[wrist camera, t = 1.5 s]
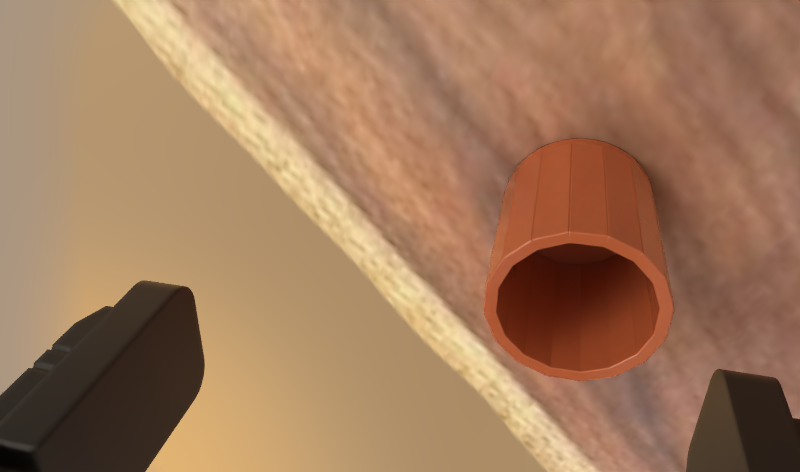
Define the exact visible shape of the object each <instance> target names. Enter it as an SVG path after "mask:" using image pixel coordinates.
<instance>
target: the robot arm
mask: <svg viewBox="0 0 800 472" xmlns="http://www.w3.org/2000/svg"><path fill="white" fill-rule="evenodd" d="M203 376H204V355H203V349H202V343H201V336H200V331H199V324H198V318H197V312H196V305H195V299H194V296H193V293H192V291H191V290H190V289H189V288H188V287H184V286H178V285H171V284H165V283H158V282H151V281H140V282H138V283H137V284H136V285H134V286H133V288H131V290H129V292H128V293H127V294H126V295H125V296H124V297H123V298H122V299H121V300H120V301H119V302H118V303H117V304H116V305H115V306H114V307H109V306H105V307H104V308H102V309H100V310H98V311H96V312H95V313H93V314H91V315H89V316H87V317H85V318H84V319H82V320H80V321H78V322H76V323H75V324H74V325H73V326H72V327H71V328H70V329H69V330H68V331H67V332H66V333H65V334H63V336H61V337H60V338H59V339H58V340H57V341H56V342H55V343H54V344H53V347H52V350H47V351H46V352H45V353H44V354H43V355H42V356H41V357H40V358H39V359H38V360H37V361H36V362H35V363H34V367H33V368H28V369H27V371H25V372H24V373H23V374H22V375H21V376H20V377H19V378H18V379H17V380H16V381H15V382H14V383H13V384H12V385H11V386H10V387H9V388H8V389H7V390H6V391H5V392H4V393H2V394H1V395H0V472H145V471H146V470H147V468H148V467H149V465H150V464H151V462H152V461H153V459H154V458H155V457H156V455H157V454H158V452H159V451H160V449H161V448H162V446H163V445H164V443H165V442H166V441H167V439H168V438H169V436H170V435H171V433H172V432H173V430H174V428H175V427H176V426H177V424H178V423H179V422H180V420H181V419H182V417H183V416H184V414H185V413H186V411H187V410H188V408H189V407H190V405H191V404H192V403H193V401H194V400H195V398H196V396H197V394H198V392H199V390H200V387H201V384H202V380H203ZM686 472H800V419H795V418H792V415H791V412H790V410H789V407H788V404H787V401H786V398H785V396H784V393H783V390H782V387H781V385H780V383H779V381H778V380H777V379H776V378H774V377H768V376H761V375H755V374H748V373H742V372H735V371H728V370H722V369H718V370H716V371H715V372H714V374H713V376H712V378H711V381H710V384H709V387H708V390H707V393H706V396H705V400H704V403H703V406H702V409H701V412H700V415H699V418H698V422H697V425H696V428H695V431H694V434H693V437H692V440H691V444H690V447H689V452H688V458H687V469H686Z"/></svg>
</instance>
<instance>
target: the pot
mask: <svg viewBox="0 0 800 472" xmlns="http://www.w3.org/2000/svg"><path fill="white" fill-rule="evenodd" d="M483 311H484V315H485V318H486V320H487V322H488V325H489V327H490V330H491V332H492V335H493V337H494V339H495V341H496V342H497V343H498V344H499V345H500V346H501V347H502V348H503V349H504V350H505V351H506V352H508V353H509V354H510V355H511V356H512V357H513V358H514V359H515V360H516V361H517V362H519V363H521V364H523V365H525V366H527V367H529V368H531V369H533V370H535V371H537V372H540V373H542V374H544V375H547V376H550V377H557V378H563V379H570V380H577V381H586V380H593V379H600V378H608V377H614V376H618V375H620V374H622V373H624V372H626V371H628V370H630V369H632V368H634V367H636V366H638V365H640V364H642V363H644V362H645V361H647V360H648V359H649V357H650V356H651V355H652V354H653V353H654V352H655V351H656V350H657V348H658V347H659V346H660V345H661V344H662V343H663V342H664V341H665V340H666V338H667V336H668V332H669V328H670V325H671V321H672V317H673V313H674V302H673V296H672V291H671V285H670V280H669V274H668V269H667V264H666V258H665V253H664V247H663V242H662V236H661V231H660V225H659V220H658V214H657V209H656V204H655V200H654V196H653V192H652V187H651V184H650V181H649V179H648V177H647V175H646V173H645V171H644V170H643V169H642V167H641V166H640V165H639V163H638V162H637V161H636V160H635V159H634V158H633V157H631V156H630V155H629V154H627V153H626V152H625V151H623V150H621V149H619V148H618V147H616V146H613V145H611V144H608V143H605V142H602V141H598V140H592V139H567V140H562V141H557V142H554V143H551V144H548V145H546V146H544V147H542V148H540V149H538V150H536V151H535V152H533V153H532V154H530V155H529V156H528V157H527V158H525V159H524V160H523V161H522V162H521V163H520V164H519V166H518V167H517V168H516V170H515V171H514V172H513V174H512V176H511V178H510V180H509V182H508V185H507V188H506V190H505V192H504V197H503V202H502V207H501V212H500V217H499V222H498V226H497V231H496V236H495V241H494V246H493V251H492V256H491V261H490V266H489V271H488V276H487V281H486V286H485V298H484V310H483Z"/></svg>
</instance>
